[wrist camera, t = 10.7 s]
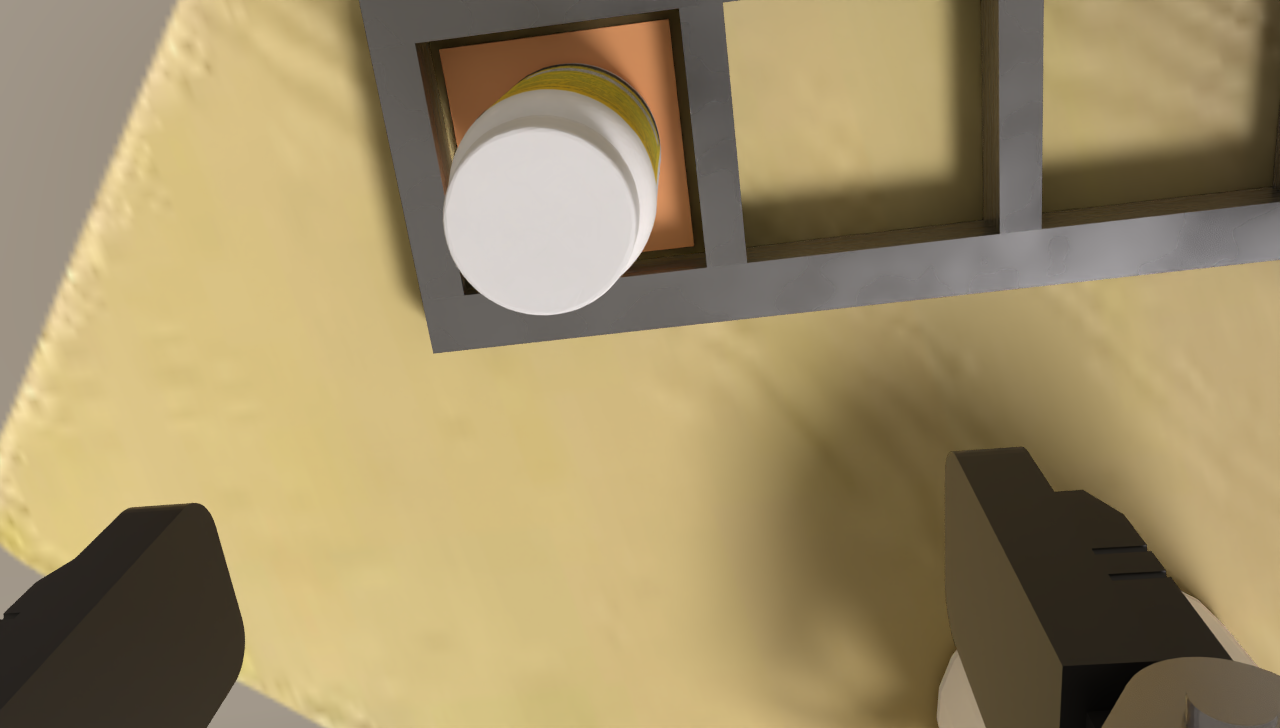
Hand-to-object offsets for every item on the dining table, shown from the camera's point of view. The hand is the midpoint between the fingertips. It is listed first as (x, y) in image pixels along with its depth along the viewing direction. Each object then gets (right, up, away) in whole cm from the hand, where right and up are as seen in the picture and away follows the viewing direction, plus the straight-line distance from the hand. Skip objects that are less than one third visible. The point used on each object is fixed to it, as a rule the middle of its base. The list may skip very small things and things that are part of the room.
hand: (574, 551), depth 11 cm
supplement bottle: (-1, +8, +18) cm, 20 cm away
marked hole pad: (-1, +8, +18) cm, 20 cm away
